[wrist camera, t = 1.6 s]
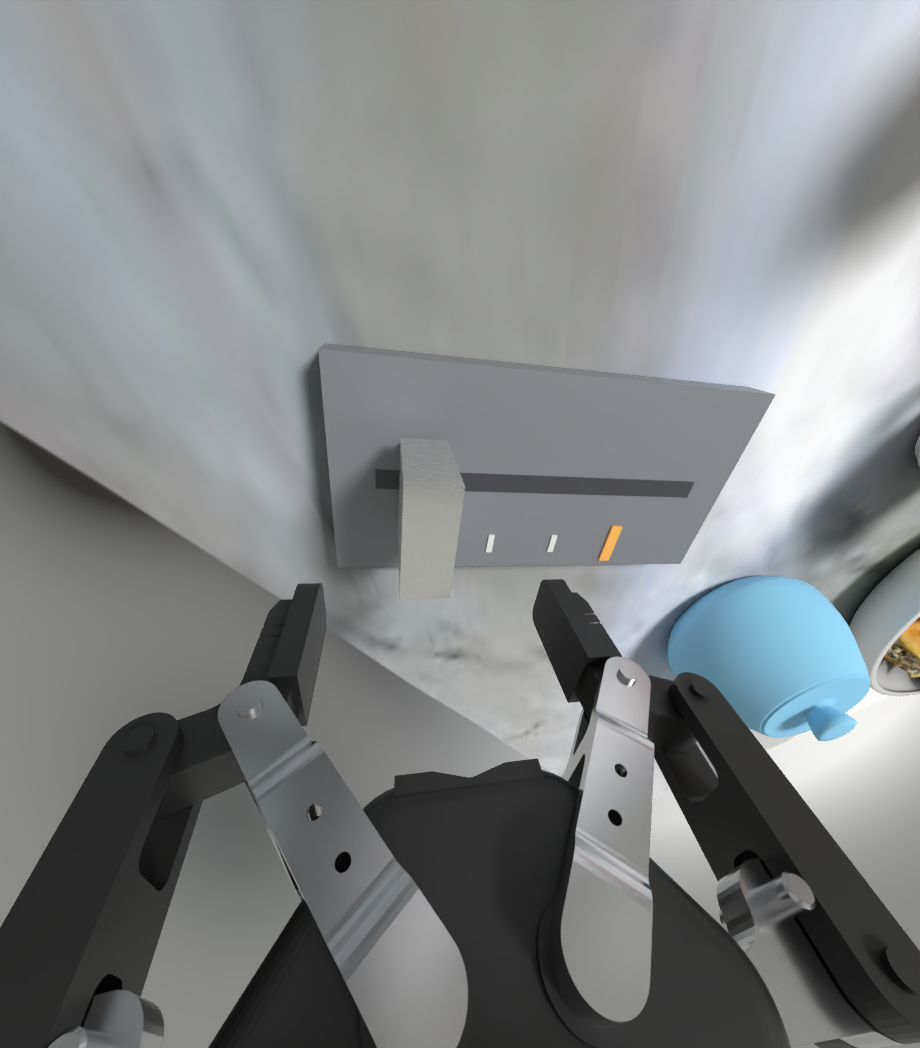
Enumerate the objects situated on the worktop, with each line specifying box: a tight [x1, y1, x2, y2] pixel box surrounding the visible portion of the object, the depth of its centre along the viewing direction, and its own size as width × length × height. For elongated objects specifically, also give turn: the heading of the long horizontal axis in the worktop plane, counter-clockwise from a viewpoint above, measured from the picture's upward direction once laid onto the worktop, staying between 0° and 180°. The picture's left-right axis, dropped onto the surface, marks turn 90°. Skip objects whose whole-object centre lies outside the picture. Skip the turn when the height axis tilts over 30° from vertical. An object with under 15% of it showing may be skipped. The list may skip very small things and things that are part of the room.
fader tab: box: [398, 438, 465, 600], centre depth 18 cm, size 6×2×6 cm, turn 173°
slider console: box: [318, 344, 775, 568], centre depth 23 cm, size 13×26×2 cm, turn 83°
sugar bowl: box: [667, 576, 870, 741], centre depth 33 cm, size 15×15×12 cm
